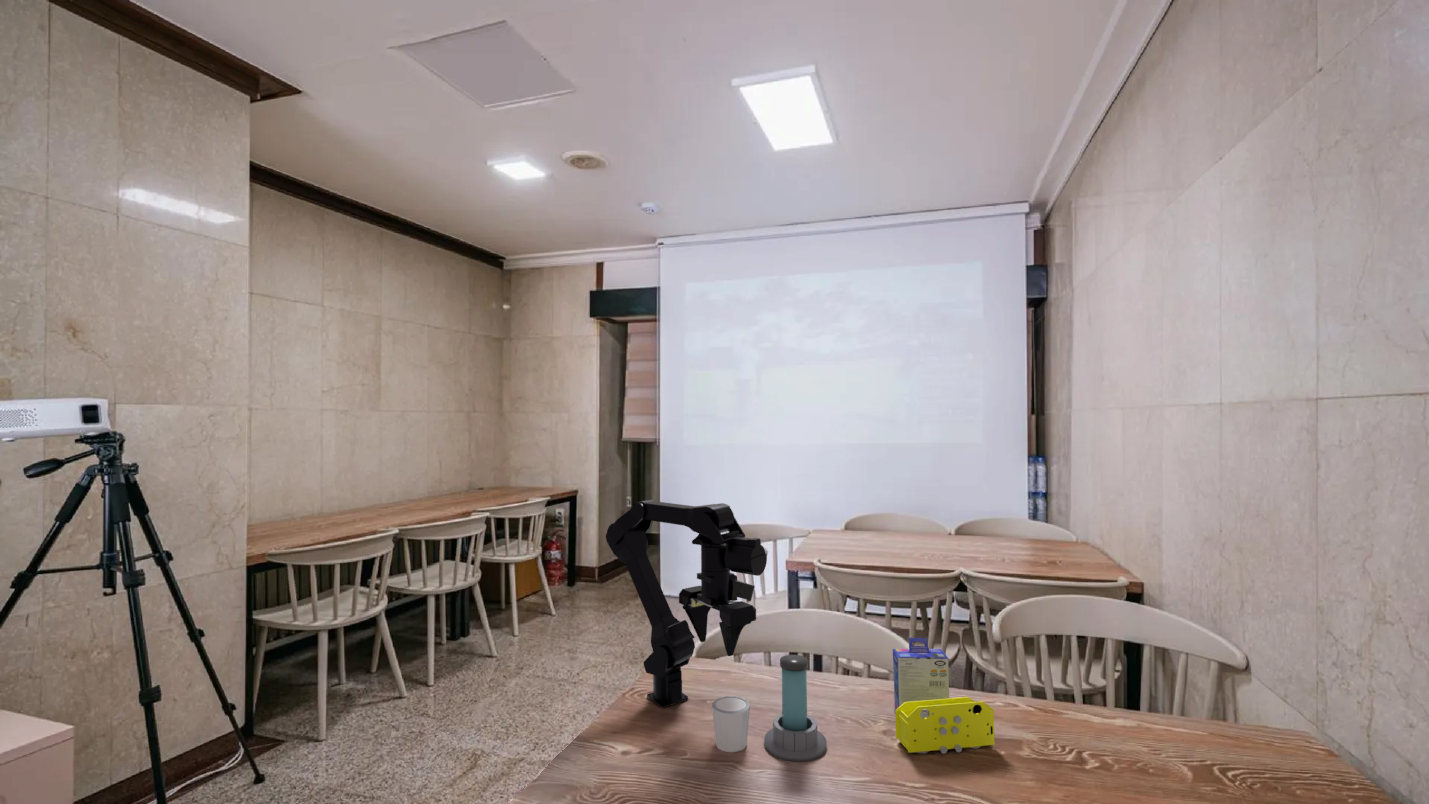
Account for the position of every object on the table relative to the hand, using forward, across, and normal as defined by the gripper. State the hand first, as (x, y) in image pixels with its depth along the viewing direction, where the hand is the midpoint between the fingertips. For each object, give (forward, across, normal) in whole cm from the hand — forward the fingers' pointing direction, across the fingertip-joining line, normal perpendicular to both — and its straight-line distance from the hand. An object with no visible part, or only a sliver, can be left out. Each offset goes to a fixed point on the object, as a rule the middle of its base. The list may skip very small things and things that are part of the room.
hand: (716, 648), depth 119 cm
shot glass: (+13, -10, +4) cm, 17 cm away
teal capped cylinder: (+12, -17, -5) cm, 21 cm away
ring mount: (+13, -17, -5) cm, 22 cm away
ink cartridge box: (+13, -24, -32) cm, 42 cm away
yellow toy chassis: (+13, -33, -26) cm, 44 cm away
